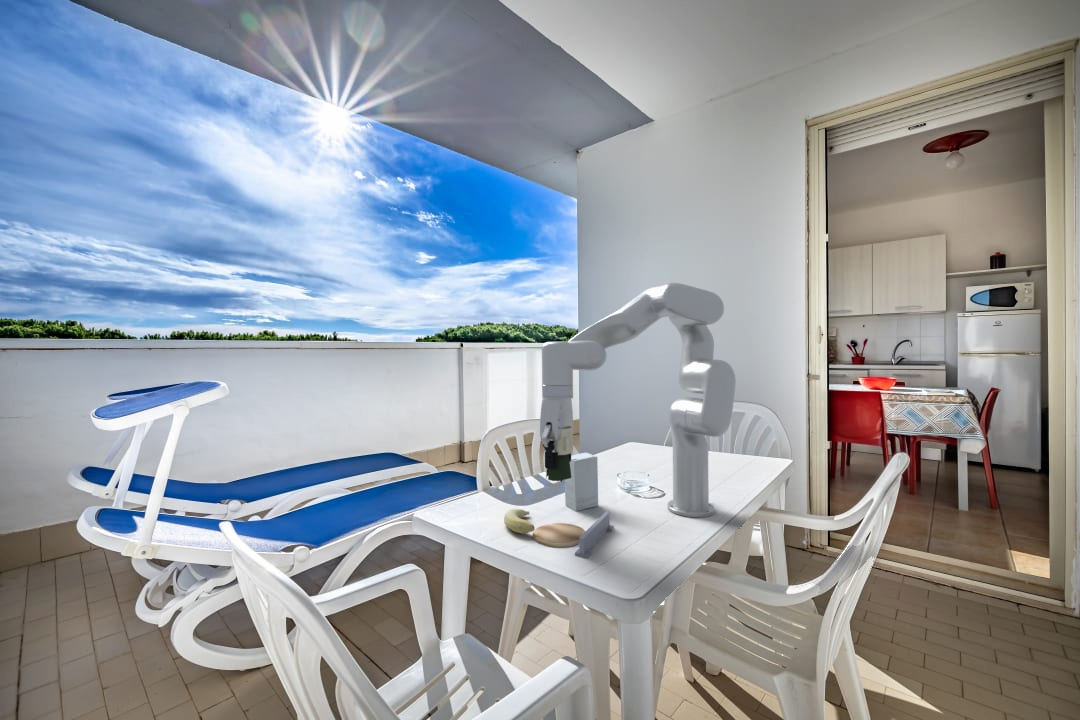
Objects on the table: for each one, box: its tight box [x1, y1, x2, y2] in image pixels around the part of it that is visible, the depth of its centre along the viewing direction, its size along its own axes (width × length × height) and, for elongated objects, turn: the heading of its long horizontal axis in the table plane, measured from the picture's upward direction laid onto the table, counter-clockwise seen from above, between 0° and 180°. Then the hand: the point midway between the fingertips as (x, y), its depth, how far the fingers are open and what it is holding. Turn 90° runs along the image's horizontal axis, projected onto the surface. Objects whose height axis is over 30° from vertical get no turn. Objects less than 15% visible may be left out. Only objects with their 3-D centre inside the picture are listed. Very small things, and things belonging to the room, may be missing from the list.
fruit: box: [503, 508, 536, 535], centre depth 116 cm, size 7×15×3 cm, turn 7°
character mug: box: [545, 426, 574, 482], centre depth 110 cm, size 11×7×13 cm, turn 24°
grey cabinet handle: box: [574, 511, 615, 559], centre depth 107 cm, size 18×3×4 cm, turn 153°
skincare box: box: [564, 452, 599, 512], centre depth 131 cm, size 8×6×15 cm
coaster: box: [532, 522, 586, 548], centre depth 110 cm, size 13×13×1 cm
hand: (558, 464), depth 110 cm, fingers closed on character mug, 7 cm apart
